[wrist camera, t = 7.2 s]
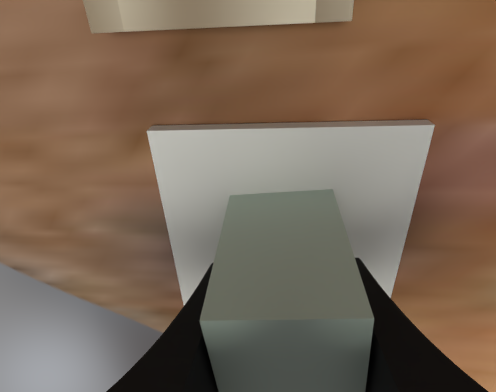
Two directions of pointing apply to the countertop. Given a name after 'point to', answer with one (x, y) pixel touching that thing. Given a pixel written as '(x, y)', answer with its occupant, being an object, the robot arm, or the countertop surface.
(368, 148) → the plate
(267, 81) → the countertop surface
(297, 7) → the holder
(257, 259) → the block
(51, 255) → the countertop surface
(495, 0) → the countertop surface
